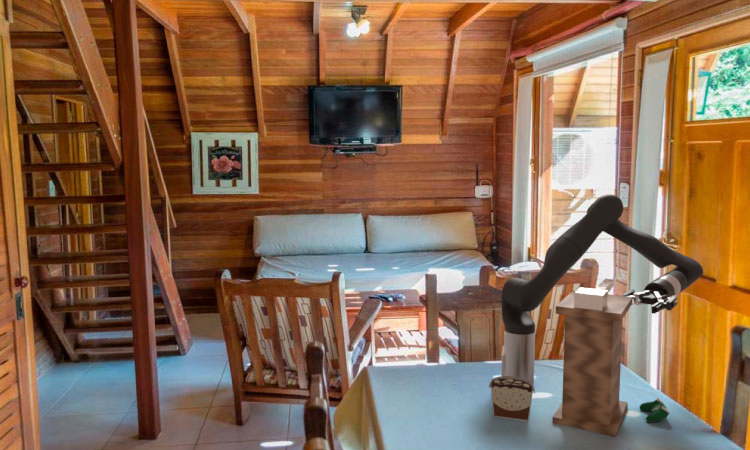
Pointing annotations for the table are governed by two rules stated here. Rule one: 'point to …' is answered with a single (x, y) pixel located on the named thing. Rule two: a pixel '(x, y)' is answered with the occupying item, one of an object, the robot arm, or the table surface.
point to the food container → (511, 397)
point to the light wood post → (593, 296)
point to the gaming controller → (655, 410)
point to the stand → (592, 366)
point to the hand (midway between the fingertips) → (637, 307)
